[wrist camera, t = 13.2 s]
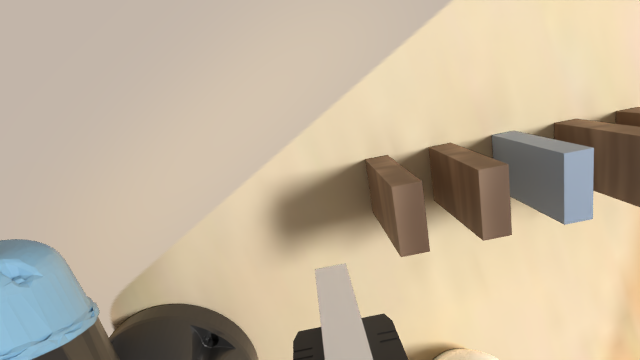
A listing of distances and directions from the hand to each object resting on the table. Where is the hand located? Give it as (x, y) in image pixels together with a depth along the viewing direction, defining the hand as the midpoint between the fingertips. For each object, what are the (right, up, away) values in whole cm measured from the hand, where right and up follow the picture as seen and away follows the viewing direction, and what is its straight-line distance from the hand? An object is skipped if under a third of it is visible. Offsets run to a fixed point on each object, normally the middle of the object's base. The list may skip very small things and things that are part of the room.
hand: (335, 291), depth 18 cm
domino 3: (+16, +7, +15) cm, 23 cm away
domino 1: (+5, +5, +15) cm, 17 cm away
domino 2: (+10, +6, +15) cm, 19 cm away
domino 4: (+21, +8, +16) cm, 28 cm away
